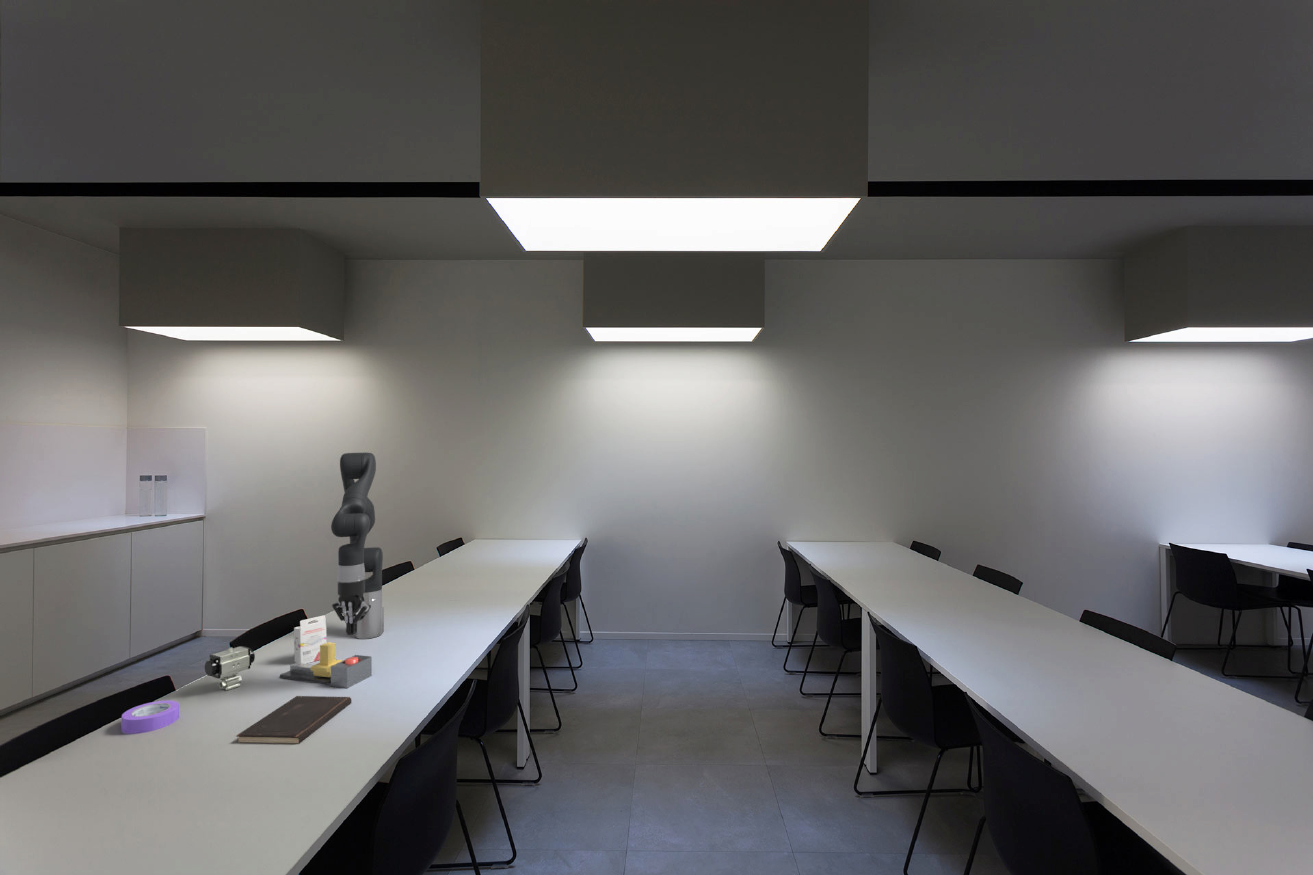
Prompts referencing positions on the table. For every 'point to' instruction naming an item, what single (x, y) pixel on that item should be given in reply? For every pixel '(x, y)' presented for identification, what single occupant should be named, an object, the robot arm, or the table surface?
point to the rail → (304, 674)
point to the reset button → (351, 660)
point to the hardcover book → (295, 720)
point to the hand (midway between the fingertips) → (351, 634)
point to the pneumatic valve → (229, 666)
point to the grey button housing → (351, 672)
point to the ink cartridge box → (309, 639)
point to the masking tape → (150, 717)
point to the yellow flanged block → (325, 660)
